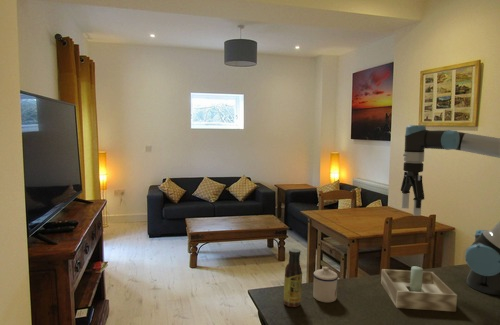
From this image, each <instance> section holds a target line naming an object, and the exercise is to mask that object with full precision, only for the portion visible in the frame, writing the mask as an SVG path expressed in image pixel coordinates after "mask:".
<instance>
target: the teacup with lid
mask: <svg viewBox="0 0 500 325" xmlns="http://www.w3.org/2000/svg"><path fill="white" fill-rule="evenodd" d="M312 275H313V276H312V277H313V285H312V286H313V289H312V291H313V292H312V295H313V298H314V299H315V300H316V301H318V302H321V303H325V304H326V303H333V302H335V301H336V300H337V294H338V279H339V276H338V274H337V273H336V272H335V271H333V270H332V269H330V268H329V266H323V267H322V268H321V269H319V268H318V269H316V270H314V272H313V274H312Z"/></svg>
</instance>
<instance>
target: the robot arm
mask: <svg viewBox="0 0 500 325" xmlns="http://www.w3.org/2000/svg"><path fill="white" fill-rule="evenodd" d="M427 149H431V150H434V149H435V150H445V151H446V150H447V151H449V150H450V151H451V150H455V151H461V152H462V151H463V152H466V153H472V154H478V155H483V156H488V157H493V158H496V159H497V158H498V159H500V138H499V137H496V136H495V137H494V136H489V135H488V136H487V135H481V134H474V133H468V132H461V131H458V130H452V129H444V130H443V129H438V130H436V129H435V130H434V129H433V130H432V129H431V130H430V129H429V130H428V129H427V126H426V125H422V124H419V125H417V124H416V125H415V124H414V125H413V124H409V125H407V126H406V128H405V134H404V153H403V154H402V155H403V161H404V162H403V171H404V172H403V177H402V179H403V180H402V183H401V187H400V191H401V193H402V196H401V197H402V198H401V209H409V208H410V194H411V192H410V190H411V187H412V191H413V195H414V197H413V207H412V208H413V209H412V210H413V211H412V216H413V217H415V216H417V217H421V214H422V202H423V200H425V193H424V185H423V184H424V183H423V175H421V174H419V173H423V171H424V163H423V162H424V161H425V150H427ZM474 237H475V239H474V241H473V243H472V244H471V245H469V247H467V249H466V250H465V255H464V259H465V262H466V264H467V266H468V267H469V268H470V270H469V273H468V275H467V276H466V284H467V285H468V286H469V287H470V288H471V289H473V290H476V291H478V292H481V293H484V294H488V295H492V296H498V297H500V220H499V221H498V222H497V223H496V224H495V226H494V227H492V229H491V230H486V229H478V230H476V231H475V234H474Z"/></svg>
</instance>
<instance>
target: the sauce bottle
mask: <svg viewBox="0 0 500 325" xmlns="http://www.w3.org/2000/svg"><path fill="white" fill-rule="evenodd" d="M288 254H289V255H288V256H289V258H288V263H287V264H286V266H285V269H284V270H285V272H284V280H283V281H284V283H283V304H284V306H286V307H287V308H288V307H289V308H297V307H299V306H300V305H301V300H302V286H303V284H302V283H303V271H302V268H301V263H300V262H301V261H300V259H301V258H300V255H301V250H300V249H298V248H290V249H288Z"/></svg>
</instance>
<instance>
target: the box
mask: <svg viewBox="0 0 500 325" xmlns="http://www.w3.org/2000/svg"><path fill="white" fill-rule="evenodd" d="M380 276H381V277H380V280H381V281H380V283H381V285H382V287H383V289H384V290H385V292H386V293H387V295H388V296H389V298H390V300H391V301H392V303H393V304H394V306H395V307H396V308H397V309H409V310H410V309H411V310H412V309H413V310H425V311H427V310H428V311H441V312H442V311H443V312H457V299H458V294H457V293H456V292H454V291H453V289H451V288H450V287H449V285H447V284H446V283H445V282H444V281H443V280H442V279H441V278H440V277H439V276H438V275H436V274H435V272H434V271H424V270H423V277H422V291H421V292H412V291H410V280H411V270H406V269H405V270H404V269H387V268H386V269H385V268H382V269H381V275H380Z"/></svg>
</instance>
